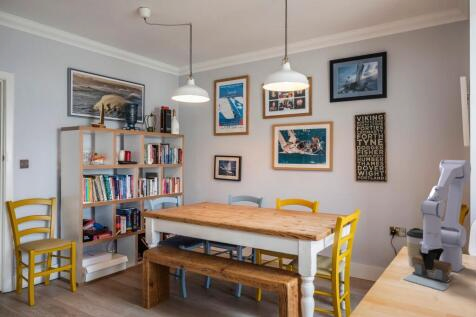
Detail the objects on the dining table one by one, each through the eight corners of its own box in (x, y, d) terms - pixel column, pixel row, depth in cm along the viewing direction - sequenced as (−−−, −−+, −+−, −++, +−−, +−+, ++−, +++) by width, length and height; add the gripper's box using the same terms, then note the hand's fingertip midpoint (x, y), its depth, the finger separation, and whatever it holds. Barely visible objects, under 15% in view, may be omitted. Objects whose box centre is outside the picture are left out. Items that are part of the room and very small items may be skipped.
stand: (418, 270, 130) (418, 259, 130) (450, 279, 122) (450, 267, 122) (412, 274, 126) (412, 262, 126) (444, 283, 118) (444, 270, 118)
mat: (411, 275, 125) (411, 274, 125) (450, 285, 116) (450, 285, 116) (403, 279, 121) (403, 278, 121) (443, 291, 111) (443, 290, 111)
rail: (414, 263, 130) (414, 254, 130) (452, 272, 120) (453, 263, 120) (410, 265, 128) (411, 256, 128) (449, 275, 118) (449, 265, 118)
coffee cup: (434, 270, 130) (435, 233, 130) (409, 268, 132) (410, 231, 132) (426, 263, 139) (426, 227, 139) (403, 261, 141) (403, 226, 141)
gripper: (427, 227, 131) (427, 261, 132) (412, 233, 122) (412, 269, 122) (447, 231, 126) (447, 266, 126) (433, 237, 116) (432, 275, 117)
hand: (431, 268), depth 124 cm, fingers open, 5 cm apart
